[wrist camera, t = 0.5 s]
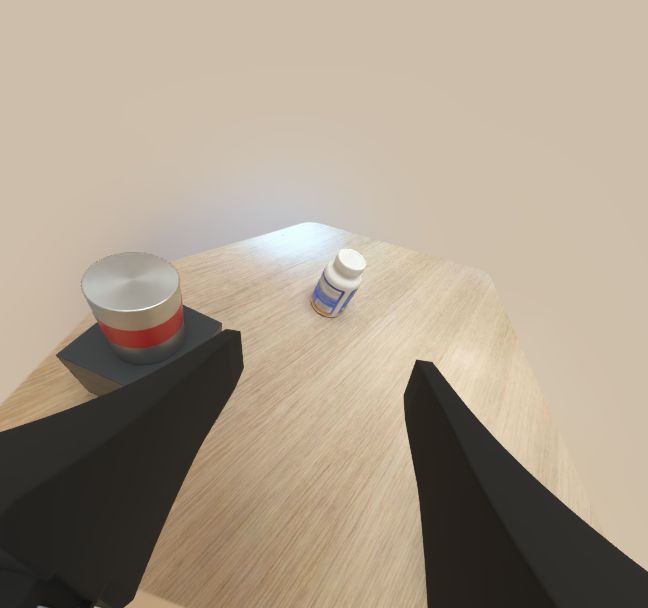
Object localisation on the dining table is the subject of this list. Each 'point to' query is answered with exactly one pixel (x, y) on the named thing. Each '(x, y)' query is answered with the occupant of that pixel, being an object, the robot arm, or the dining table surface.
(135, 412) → the robot arm
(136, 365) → the square coaster
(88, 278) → the can
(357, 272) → the pill bottle
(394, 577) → the dining table surface
